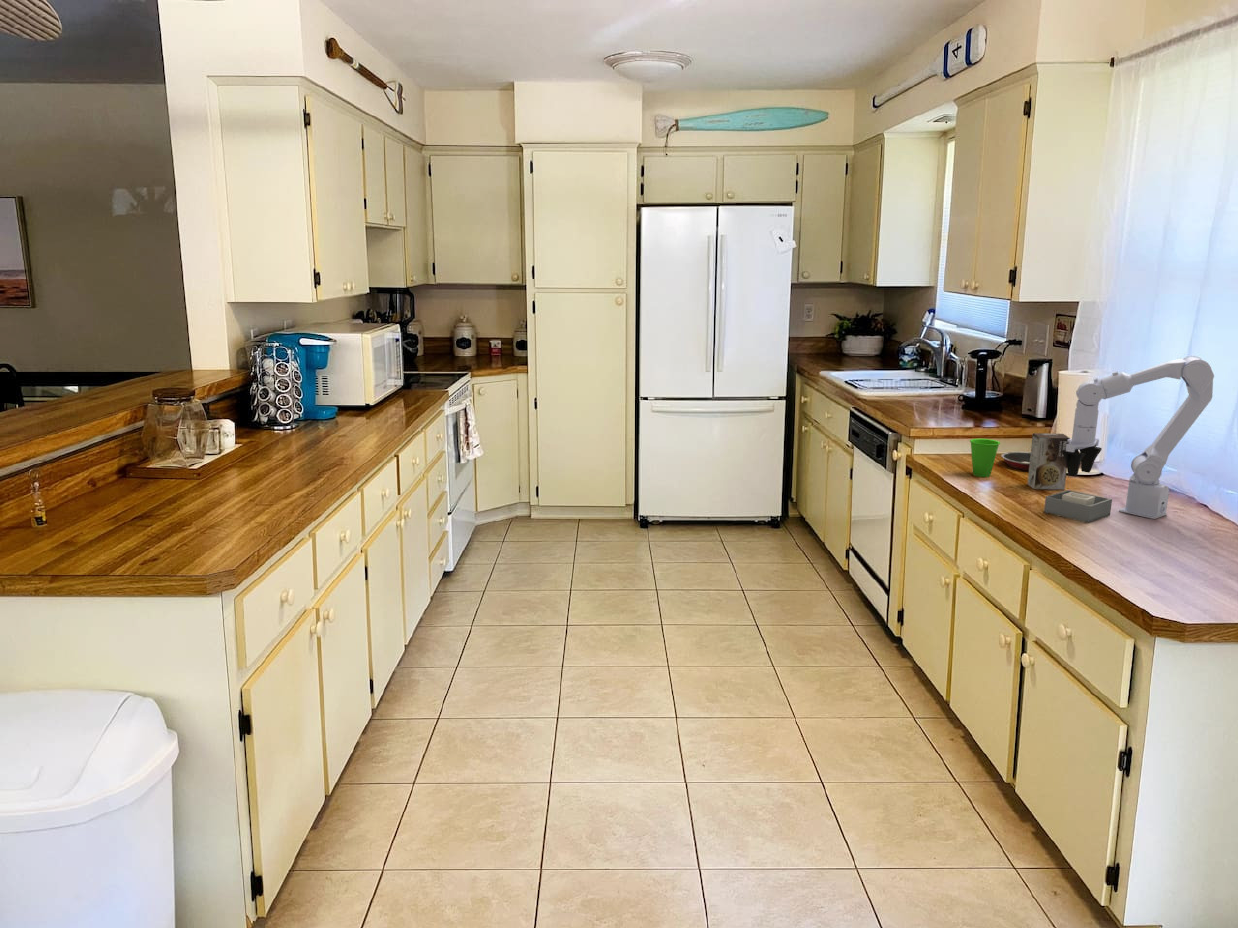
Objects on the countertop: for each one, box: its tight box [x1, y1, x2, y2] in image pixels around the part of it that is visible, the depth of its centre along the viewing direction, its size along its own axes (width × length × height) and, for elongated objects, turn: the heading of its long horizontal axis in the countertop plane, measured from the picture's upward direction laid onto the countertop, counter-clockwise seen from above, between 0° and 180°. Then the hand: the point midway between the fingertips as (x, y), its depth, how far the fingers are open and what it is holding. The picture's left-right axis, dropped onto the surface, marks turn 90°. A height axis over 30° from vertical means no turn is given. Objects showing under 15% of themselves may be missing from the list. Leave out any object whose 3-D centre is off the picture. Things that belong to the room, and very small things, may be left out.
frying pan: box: [1000, 451, 1031, 472], centre depth 302 cm, size 19×32×4 cm, turn 177°
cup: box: [969, 438, 1001, 478], centre depth 295 cm, size 9×9×11 cm
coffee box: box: [1027, 432, 1071, 491], centre depth 281 cm, size 9×6×16 cm
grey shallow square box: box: [1043, 489, 1113, 524], centre depth 254 cm, size 12×12×4 cm
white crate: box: [1062, 492, 1095, 506], centre depth 254 cm, size 6×5×4 cm
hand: (1079, 473), depth 260 cm, fingers open, 7 cm apart
